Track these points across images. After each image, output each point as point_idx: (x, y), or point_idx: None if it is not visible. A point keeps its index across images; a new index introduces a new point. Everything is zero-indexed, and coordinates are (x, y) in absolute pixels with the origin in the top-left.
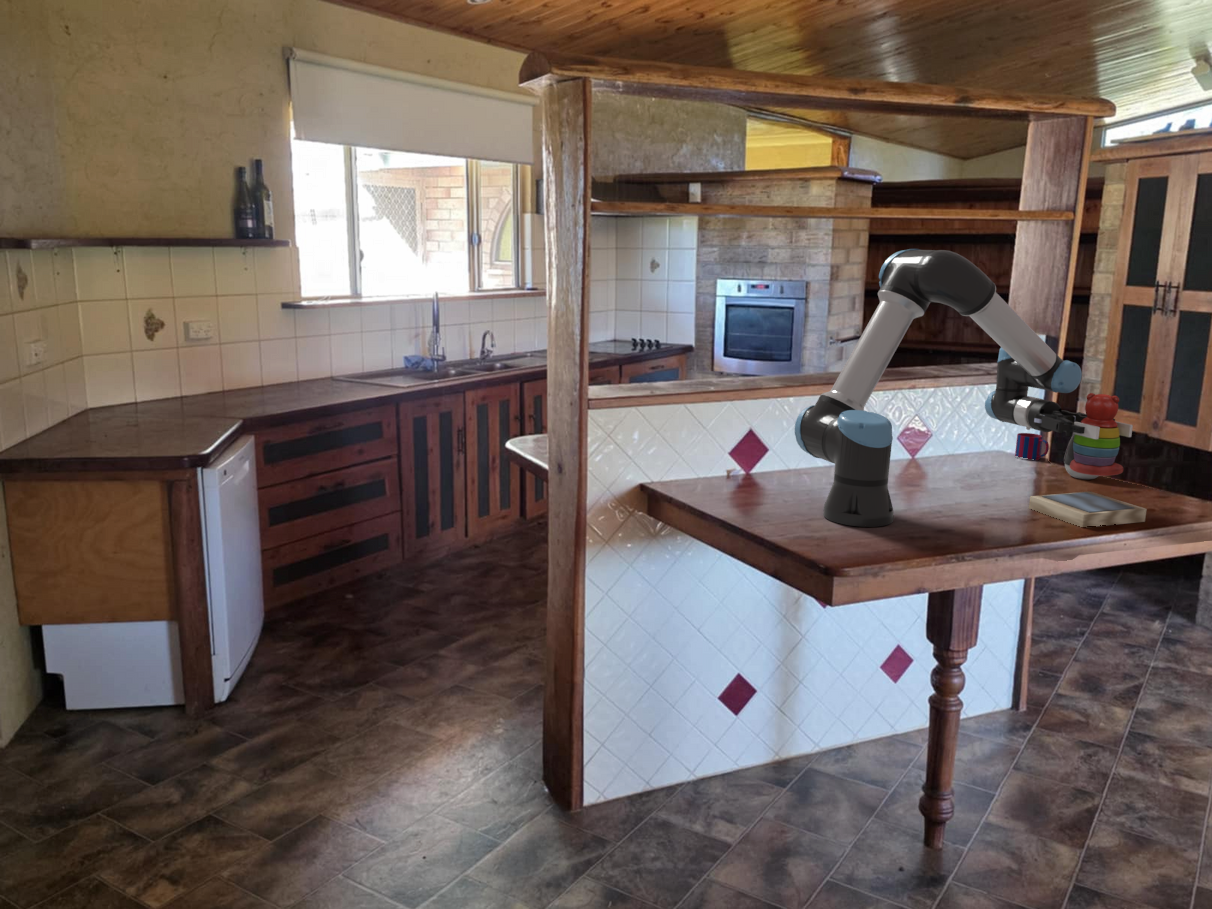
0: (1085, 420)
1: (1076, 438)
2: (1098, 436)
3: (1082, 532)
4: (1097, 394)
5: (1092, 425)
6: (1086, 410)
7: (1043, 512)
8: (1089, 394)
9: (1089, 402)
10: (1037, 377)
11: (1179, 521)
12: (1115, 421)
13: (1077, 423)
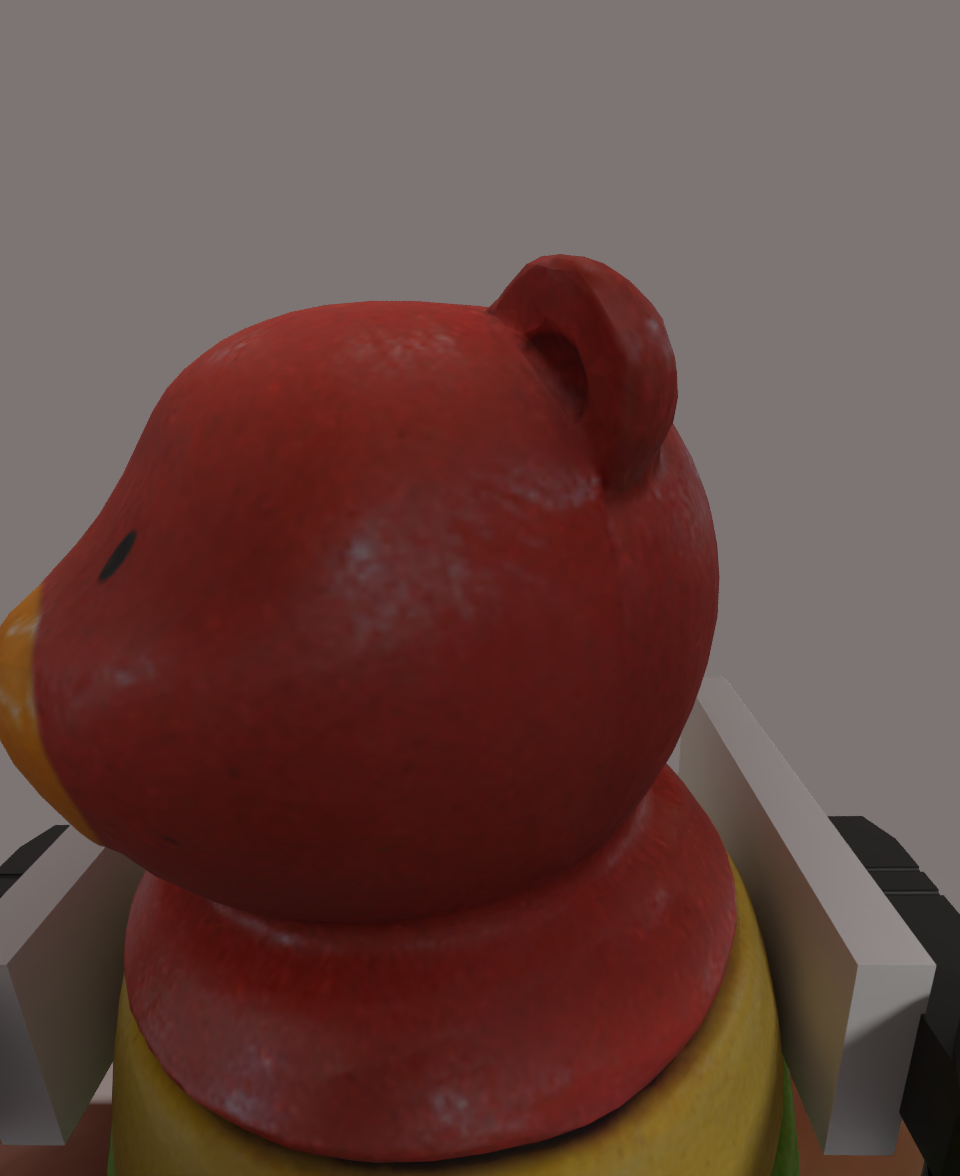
0: (701, 847)
1: (798, 1166)
2: (682, 771)
3: (810, 1128)
4: (441, 303)
5: (721, 730)
6: (698, 684)
7: None
8: (636, 293)
9: (700, 479)
10: None
11: (52, 1146)
12: (73, 839)
13: (880, 906)
